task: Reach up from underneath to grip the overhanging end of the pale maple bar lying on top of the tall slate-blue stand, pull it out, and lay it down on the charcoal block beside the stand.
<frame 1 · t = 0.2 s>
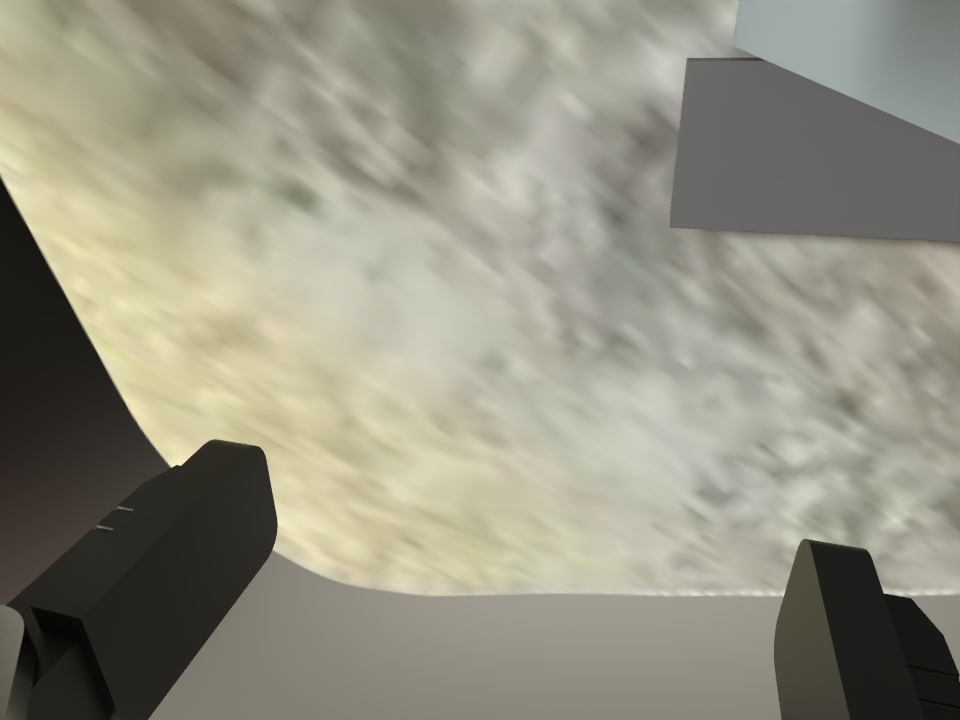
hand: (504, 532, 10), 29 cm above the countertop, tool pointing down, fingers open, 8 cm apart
charcoal block: (830, 143, 32), on the countertop
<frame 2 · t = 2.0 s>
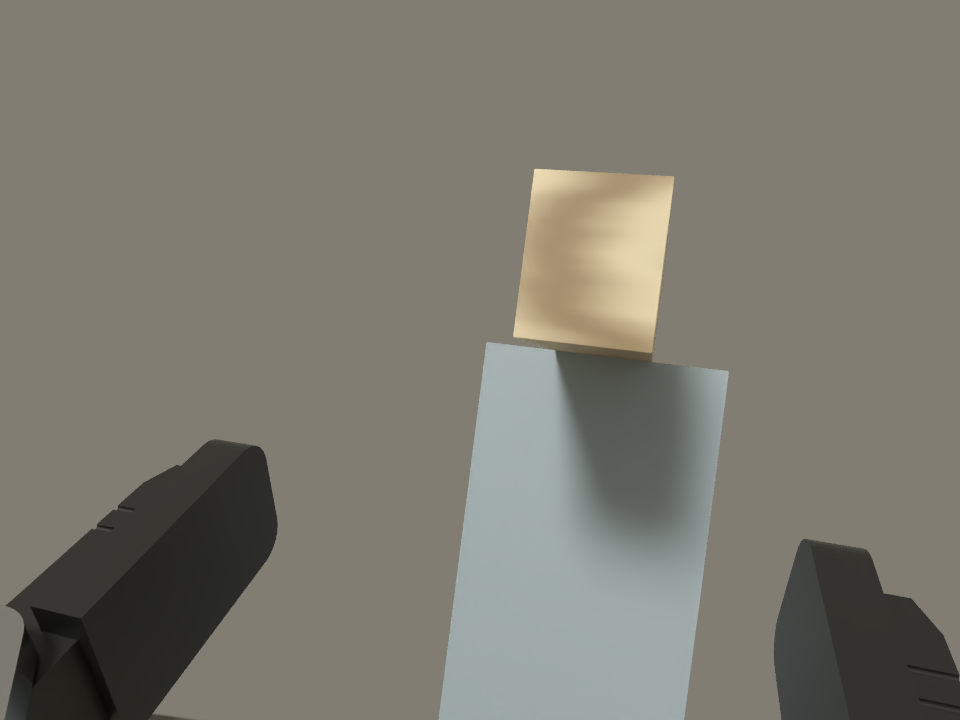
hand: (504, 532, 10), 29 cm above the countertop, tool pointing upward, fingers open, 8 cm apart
maple bar: (607, 358, 31), point 32 cm above the countertop, touching slate stand
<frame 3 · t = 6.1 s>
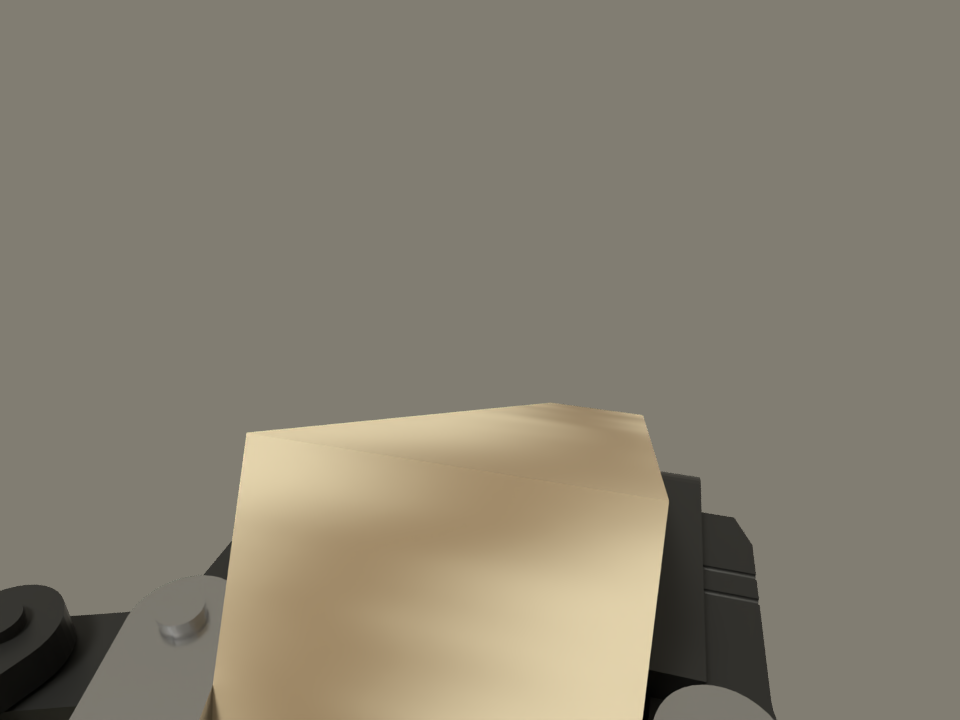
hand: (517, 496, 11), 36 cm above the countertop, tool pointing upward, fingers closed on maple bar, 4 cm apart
maple bar: (545, 608, 18), point 32 cm above the countertop, touching gripper, slate stand
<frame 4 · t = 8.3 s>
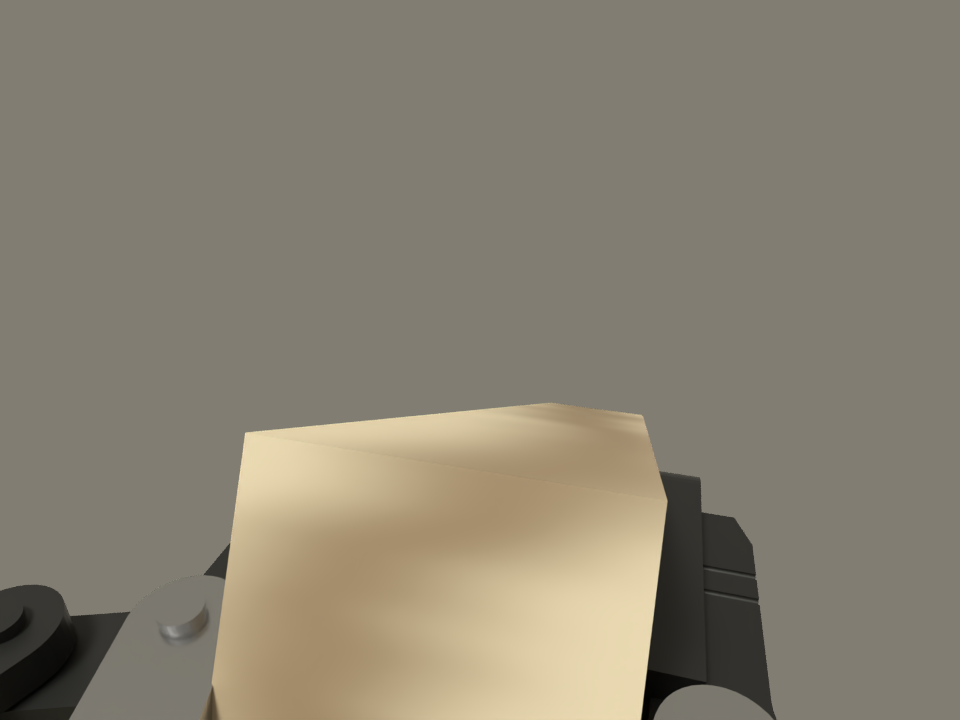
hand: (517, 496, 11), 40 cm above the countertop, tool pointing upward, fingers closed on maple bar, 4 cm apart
maple bar: (544, 608, 18), point 36 cm above the countertop, touching gripper
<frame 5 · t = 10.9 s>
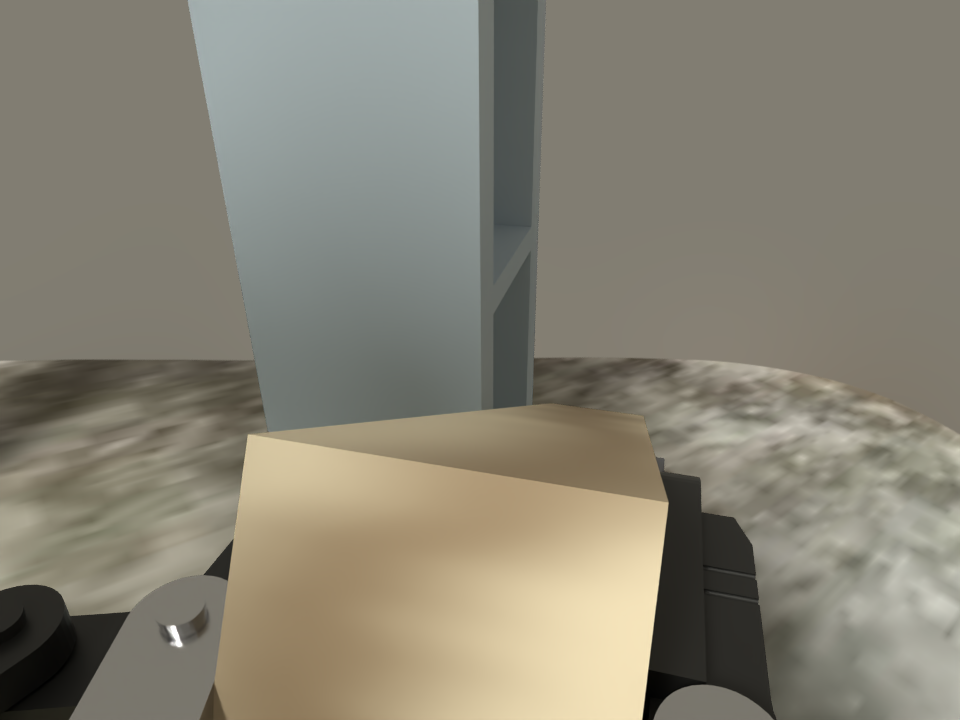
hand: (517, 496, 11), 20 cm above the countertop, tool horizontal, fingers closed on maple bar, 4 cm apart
maple bar: (545, 609, 18), point 13 cm above the countertop, tilted 30°, touching gripper
slate stand: (424, 521, 39), on the countertop
when the fingers open (7 cm above the countertop, at t = 15.1 s): maple bar stays where it is, resting on charcoal block.
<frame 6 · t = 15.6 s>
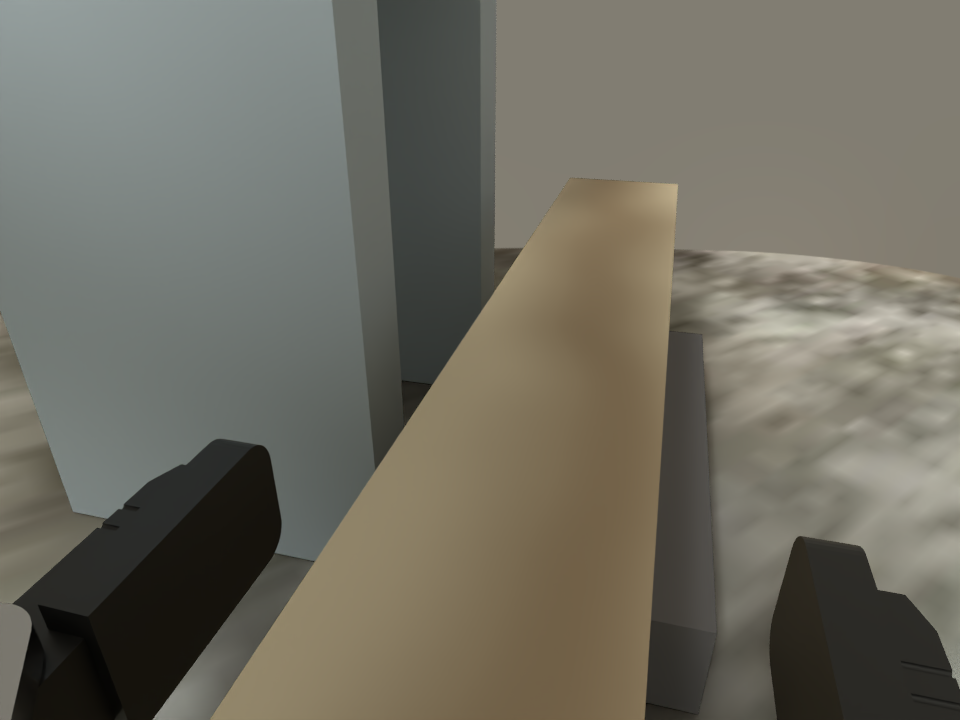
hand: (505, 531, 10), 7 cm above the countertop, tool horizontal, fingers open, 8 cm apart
charcoal block: (570, 486, 21), on the countertop
maple bar: (566, 479, 18), point 2 cm above the countertop, touching charcoal block
slate stand: (317, 427, 24), on the countertop
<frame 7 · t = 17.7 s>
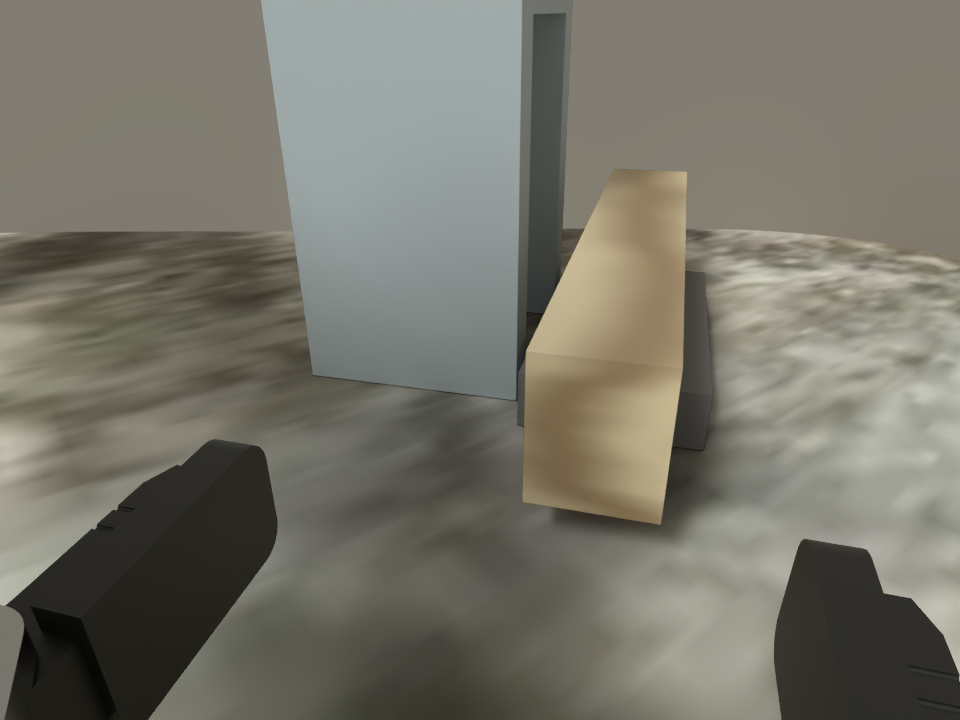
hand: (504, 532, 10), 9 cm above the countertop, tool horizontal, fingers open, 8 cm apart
charcoal block: (621, 361, 34), on the countertop
maple bar: (624, 340, 30), point 2 cm above the countertop, touching charcoal block
slate stand: (449, 334, 37), on the countertop
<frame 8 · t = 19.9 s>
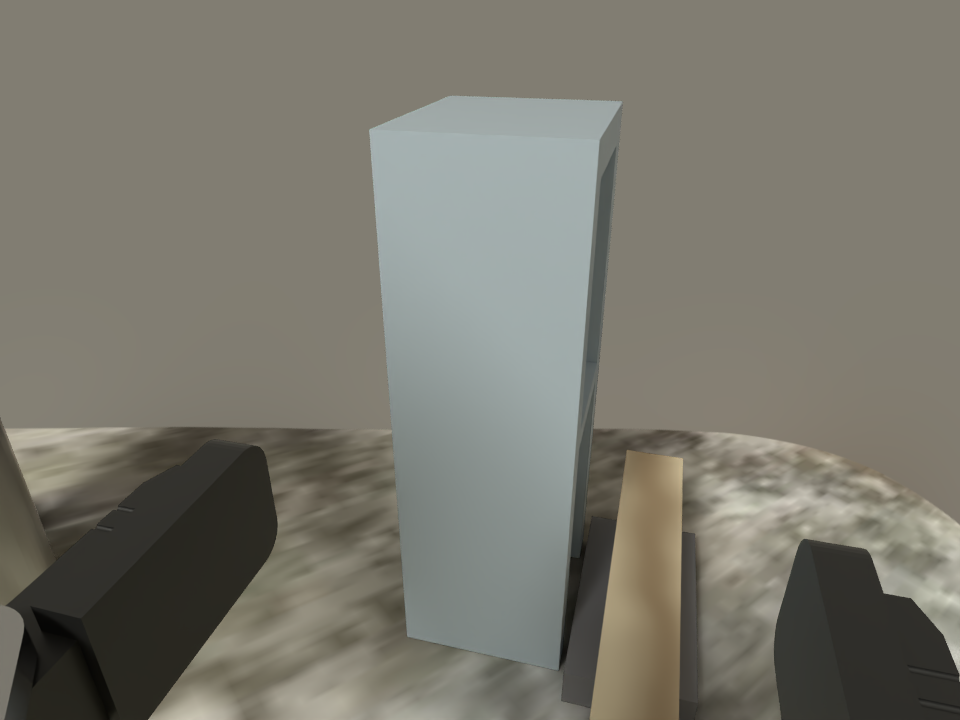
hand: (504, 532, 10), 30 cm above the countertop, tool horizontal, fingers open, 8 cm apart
charcoal block: (632, 622, 46), on the countertop
maple bar: (636, 631, 42), point 2 cm above the countertop, touching charcoal block
slate stand: (502, 584, 49), on the countertop
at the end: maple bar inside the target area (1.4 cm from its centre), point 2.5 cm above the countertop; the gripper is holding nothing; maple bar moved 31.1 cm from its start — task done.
